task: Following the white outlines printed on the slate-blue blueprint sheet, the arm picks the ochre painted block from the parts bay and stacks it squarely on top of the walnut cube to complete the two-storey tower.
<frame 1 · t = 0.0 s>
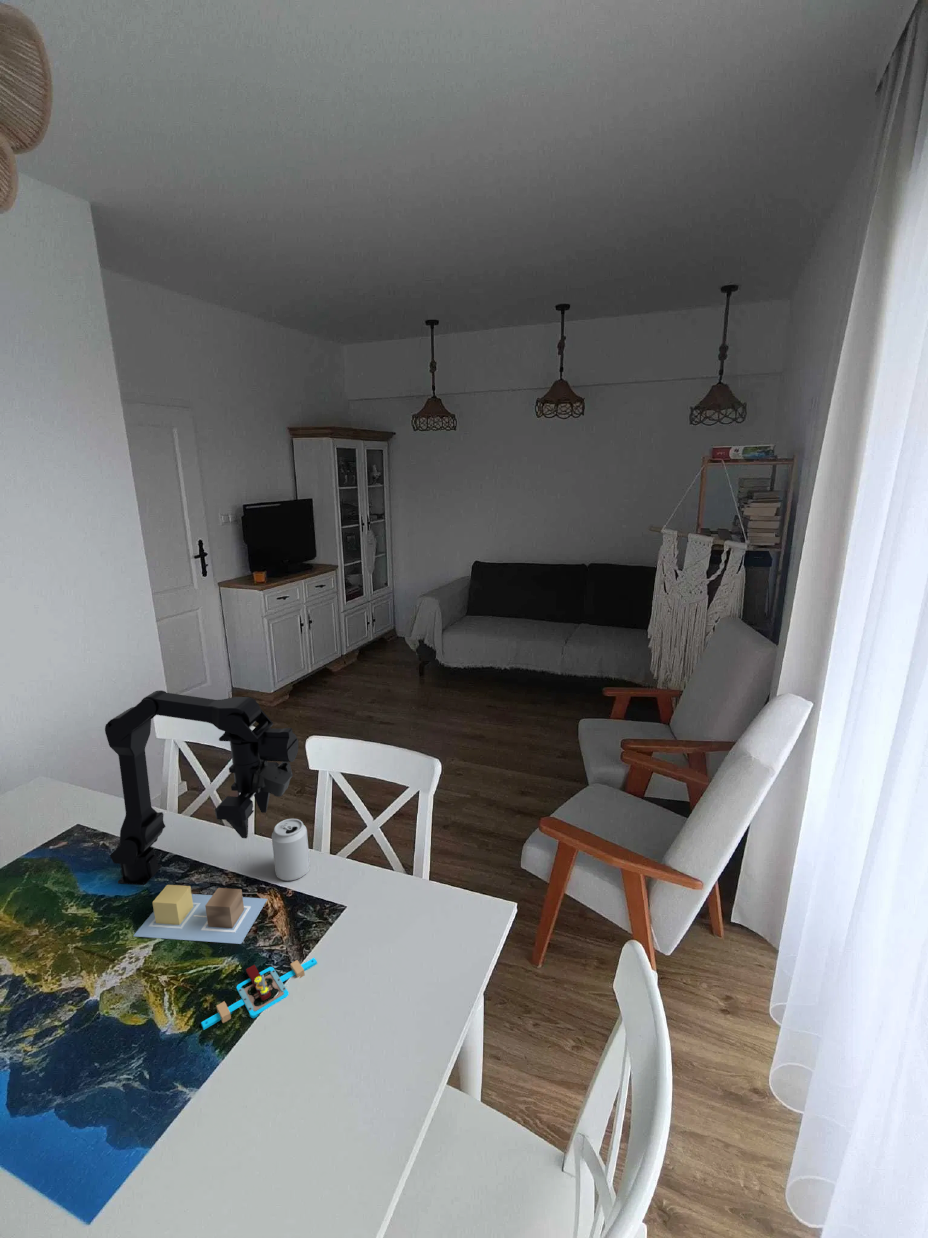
hand: (254, 824, 124), 15 cm above the table, fingers open, 9 cm apart
walnut cube: (226, 918, 117), resting on blueprint sheet
can: (293, 873, 131), on the table
blueprint sheet: (203, 918, 118), on the table
gear mechanism: (261, 993, 101), on the table
ochre block: (175, 914, 118), resting on blueprint sheet
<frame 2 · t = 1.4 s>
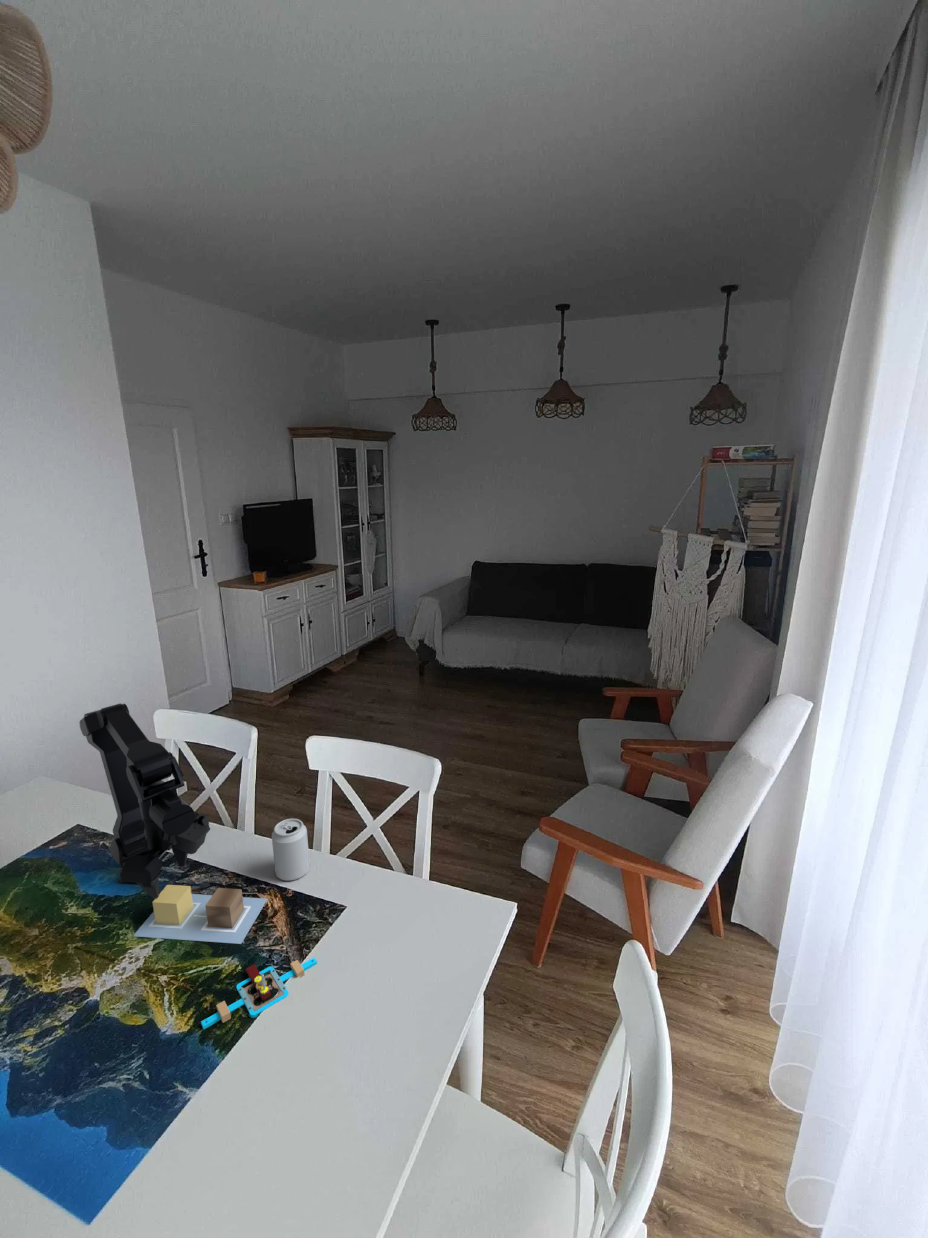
hand: (169, 881, 116), 8 cm above the table, fingers open, 9 cm apart
nothing on the table moved.
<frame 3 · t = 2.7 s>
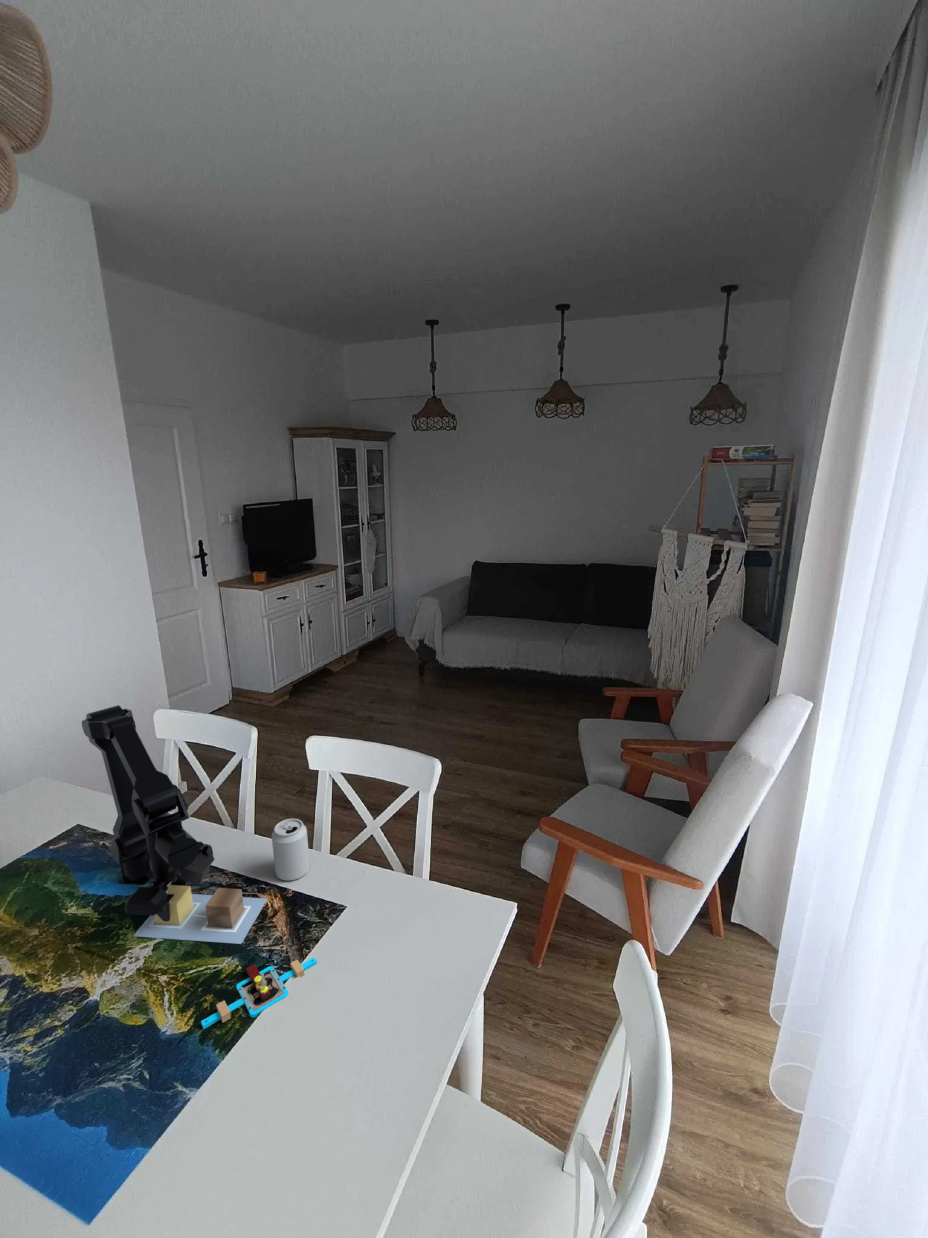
hand: (174, 911, 118), 1 cm above the table, fingers closed on ochre block, 5 cm apart
ochre block: (175, 914, 118), resting on blueprint sheet, touching gripper
everything else where it was.
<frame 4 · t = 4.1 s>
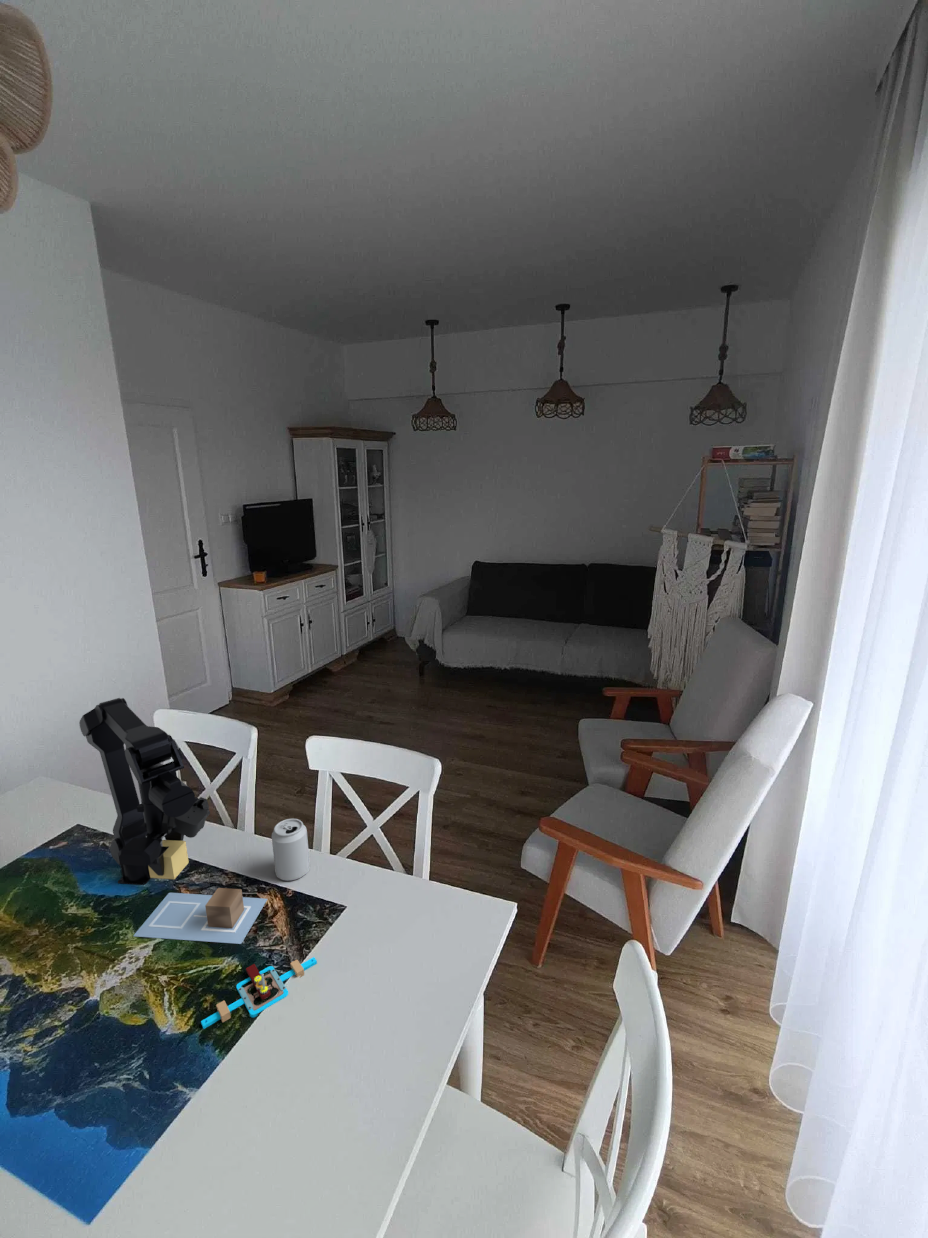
hand: (169, 866, 115), 12 cm above the table, fingers closed on ochre block, 5 cm apart
ochre block: (169, 870, 115), point 11 cm above the table, touching gripper
everything else where it was.
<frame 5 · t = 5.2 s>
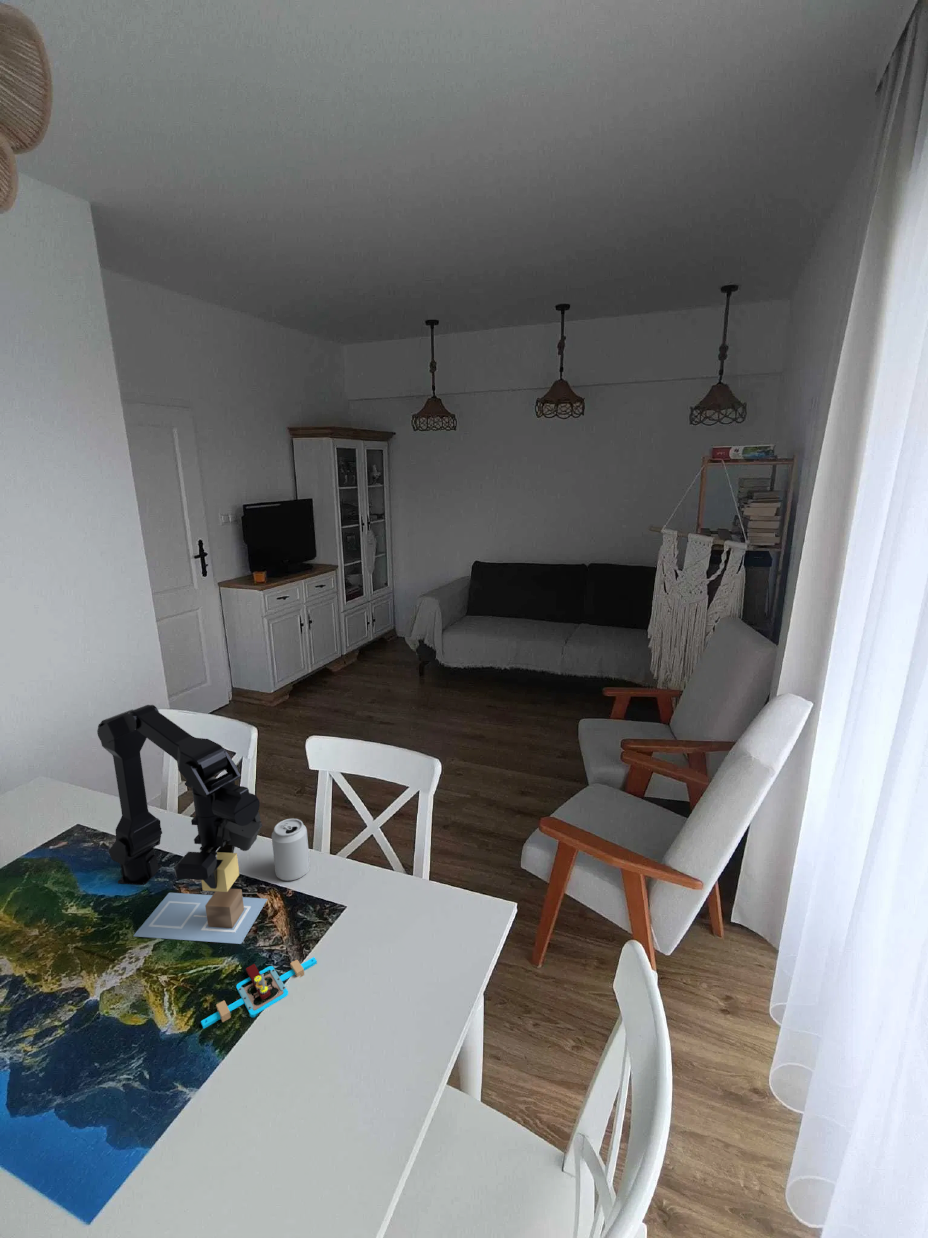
hand: (220, 878, 115), 10 cm above the table, fingers closed on ochre block, 5 cm apart
ochre block: (221, 882, 115), point 9 cm above the table, touching gripper
everything else where it was.
when the fingers open (7 cm above the table, at t = 5.9 s): ochre block drops 1 cm, resting on walnut cube.
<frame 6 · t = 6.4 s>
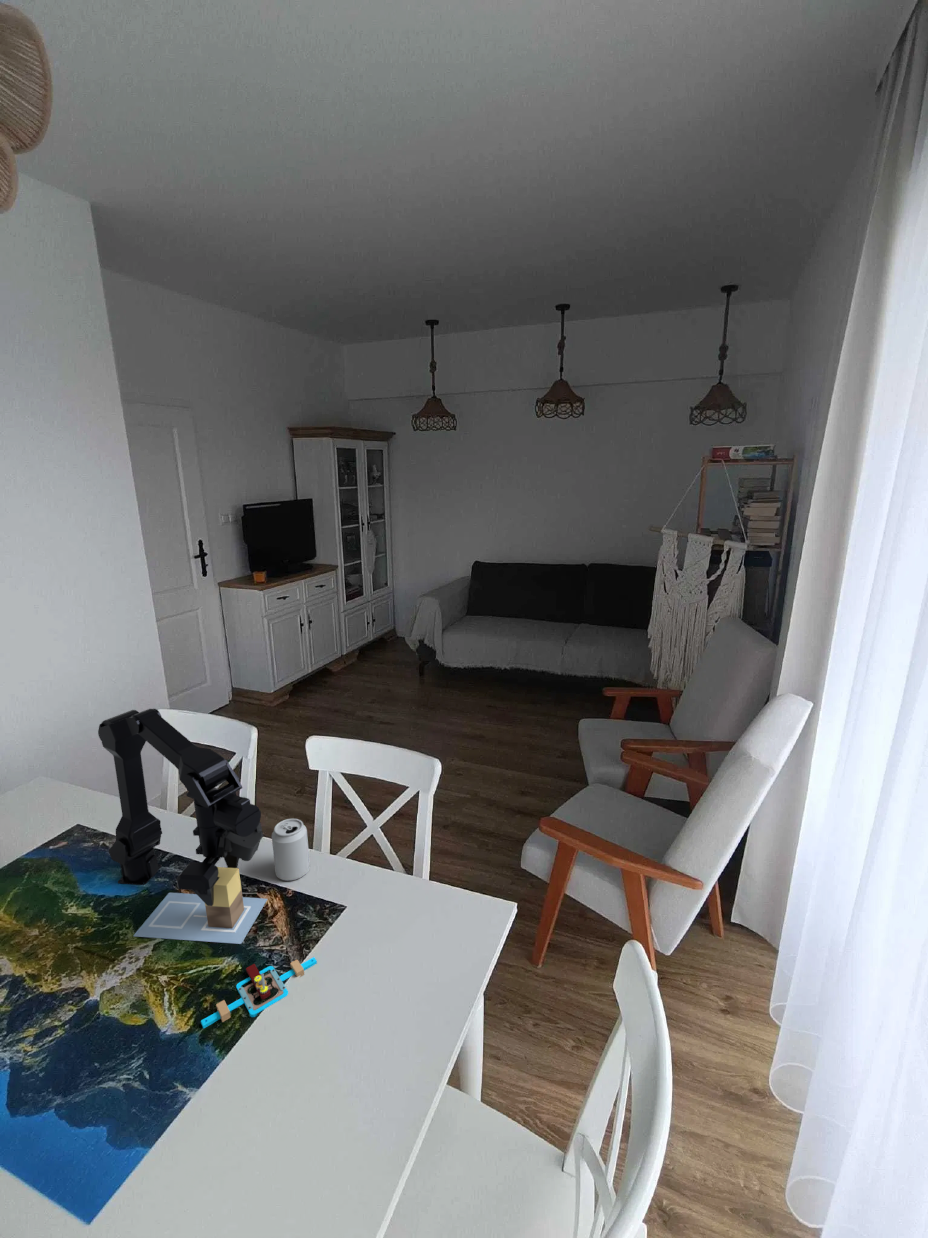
hand: (222, 888, 115), 7 cm above the table, fingers open, 9 cm apart
walnut cube: (226, 918, 117), resting on blueprint sheet, touching ochre block
ochre block: (223, 897, 116), point 5 cm above the table, touching walnut cube
everything else where it was.
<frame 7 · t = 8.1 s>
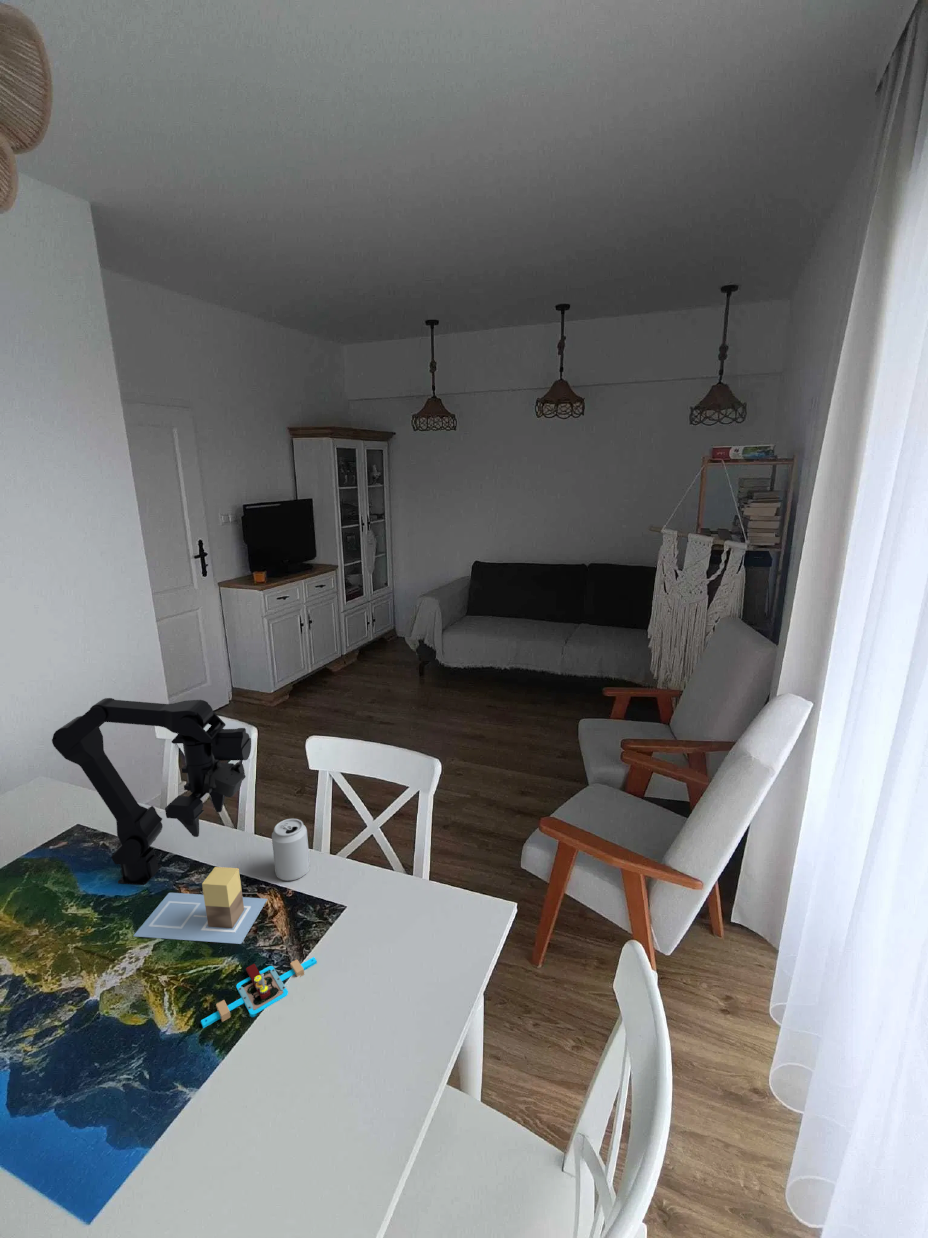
hand: (208, 823, 127), 13 cm above the table, fingers open, 9 cm apart
nothing on the table moved.
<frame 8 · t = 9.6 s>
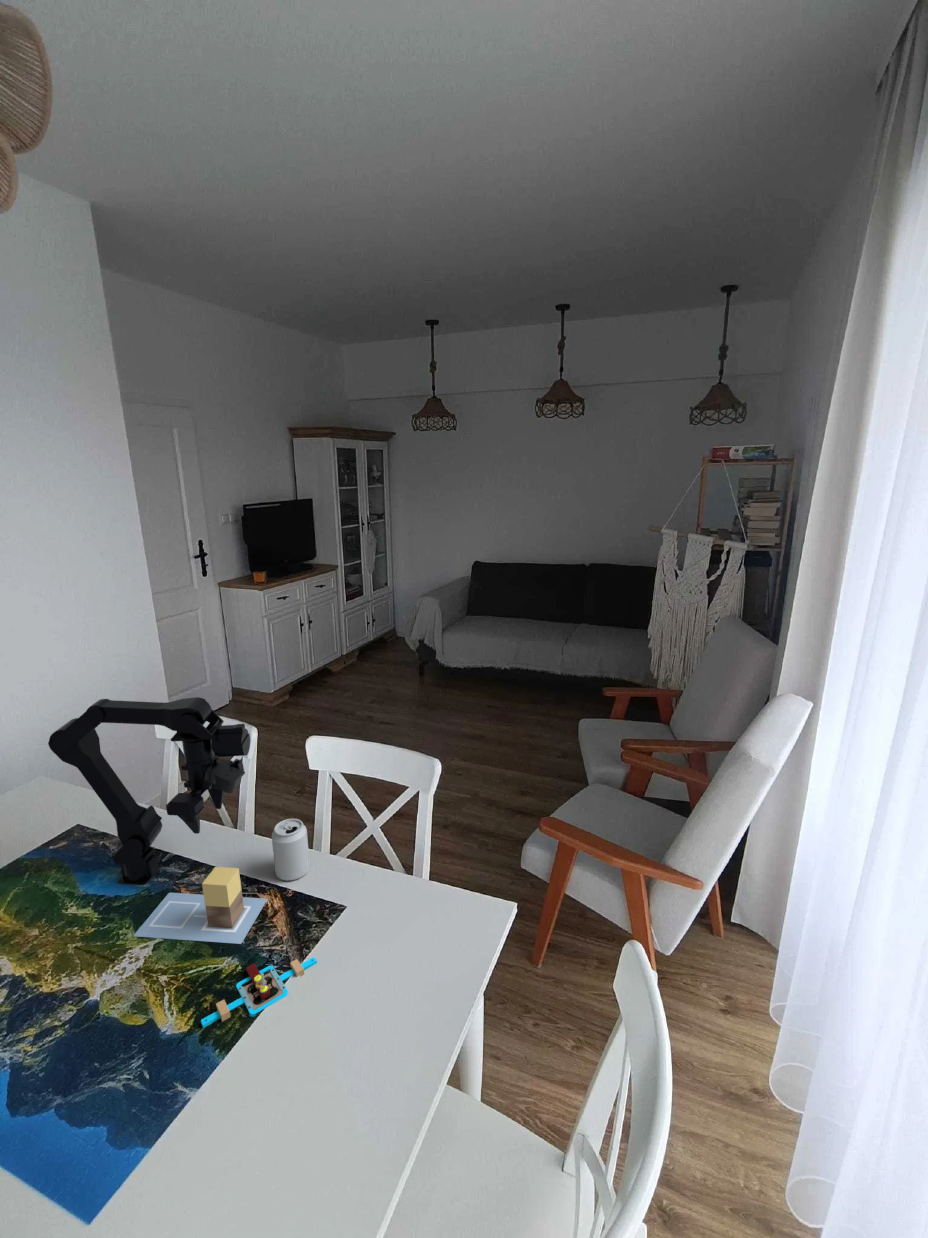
hand: (208, 820, 128), 13 cm above the table, fingers open, 9 cm apart
nothing on the table moved.
at the end: ochre block 0.0 cm off-centre on the walnut cube, point 5.0 cm above the walnut cube's base; ochre block tilted 0°; the gripper is holding nothing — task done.
